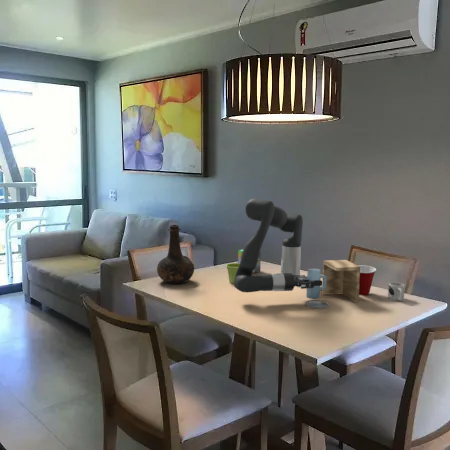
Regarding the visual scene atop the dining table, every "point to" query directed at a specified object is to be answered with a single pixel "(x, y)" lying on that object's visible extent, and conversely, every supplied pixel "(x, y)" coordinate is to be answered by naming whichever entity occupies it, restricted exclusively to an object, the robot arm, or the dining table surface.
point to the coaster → (317, 304)
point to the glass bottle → (175, 261)
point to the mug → (396, 291)
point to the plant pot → (232, 271)
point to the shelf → (341, 278)
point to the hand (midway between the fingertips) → (319, 281)
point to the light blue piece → (315, 292)
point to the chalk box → (257, 262)
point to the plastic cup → (366, 279)
